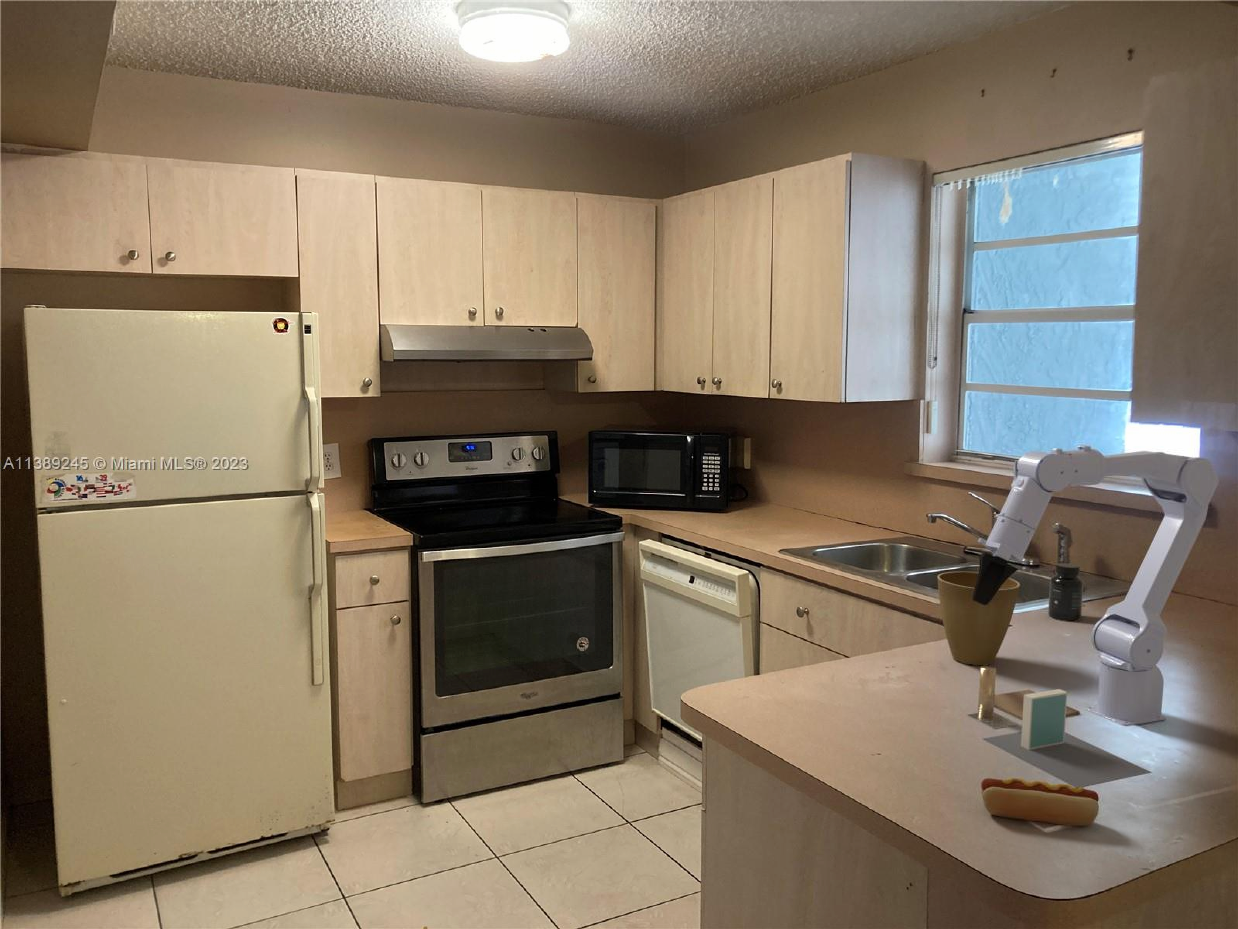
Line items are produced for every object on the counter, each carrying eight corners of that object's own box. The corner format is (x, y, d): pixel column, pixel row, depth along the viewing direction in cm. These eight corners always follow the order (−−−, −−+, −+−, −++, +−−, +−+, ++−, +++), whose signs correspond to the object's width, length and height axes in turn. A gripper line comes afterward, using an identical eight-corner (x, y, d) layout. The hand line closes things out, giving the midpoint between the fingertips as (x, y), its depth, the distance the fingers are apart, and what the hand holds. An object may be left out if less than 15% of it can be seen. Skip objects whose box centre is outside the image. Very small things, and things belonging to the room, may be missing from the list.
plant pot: (989, 678, 178) (993, 592, 176) (918, 657, 189) (922, 577, 188) (1030, 662, 188) (1034, 581, 186) (960, 643, 199) (964, 567, 197)
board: (1028, 694, 170) (1028, 689, 170) (1079, 716, 160) (1079, 711, 160) (978, 702, 166) (979, 697, 166) (1027, 725, 156) (1027, 720, 155)
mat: (1051, 728, 154) (1051, 726, 154) (1151, 774, 138) (1151, 772, 138) (982, 741, 149) (982, 738, 149) (1076, 790, 132) (1076, 787, 132)
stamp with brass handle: (966, 718, 159) (969, 667, 158) (990, 714, 160) (993, 663, 159) (993, 731, 153) (996, 679, 152) (1018, 727, 155) (1021, 675, 154)
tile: (1056, 739, 149) (1059, 689, 148) (1064, 743, 147) (1067, 692, 147) (1020, 746, 146) (1023, 694, 145) (1028, 750, 145) (1031, 698, 144)
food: (1091, 816, 125) (1094, 779, 125) (1101, 836, 120) (1103, 798, 120) (977, 802, 129) (979, 766, 128) (981, 821, 124) (983, 784, 123)
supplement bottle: (1041, 614, 222) (1044, 563, 220) (1065, 612, 224) (1068, 561, 222) (1063, 622, 215) (1066, 569, 214) (1088, 620, 217) (1091, 567, 216)
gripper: (989, 517, 159) (954, 591, 159) (993, 508, 145) (954, 589, 146) (1032, 535, 157) (996, 611, 157) (1040, 528, 143) (1001, 611, 143)
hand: (979, 602), depth 151 cm, fingers open, 7 cm apart
